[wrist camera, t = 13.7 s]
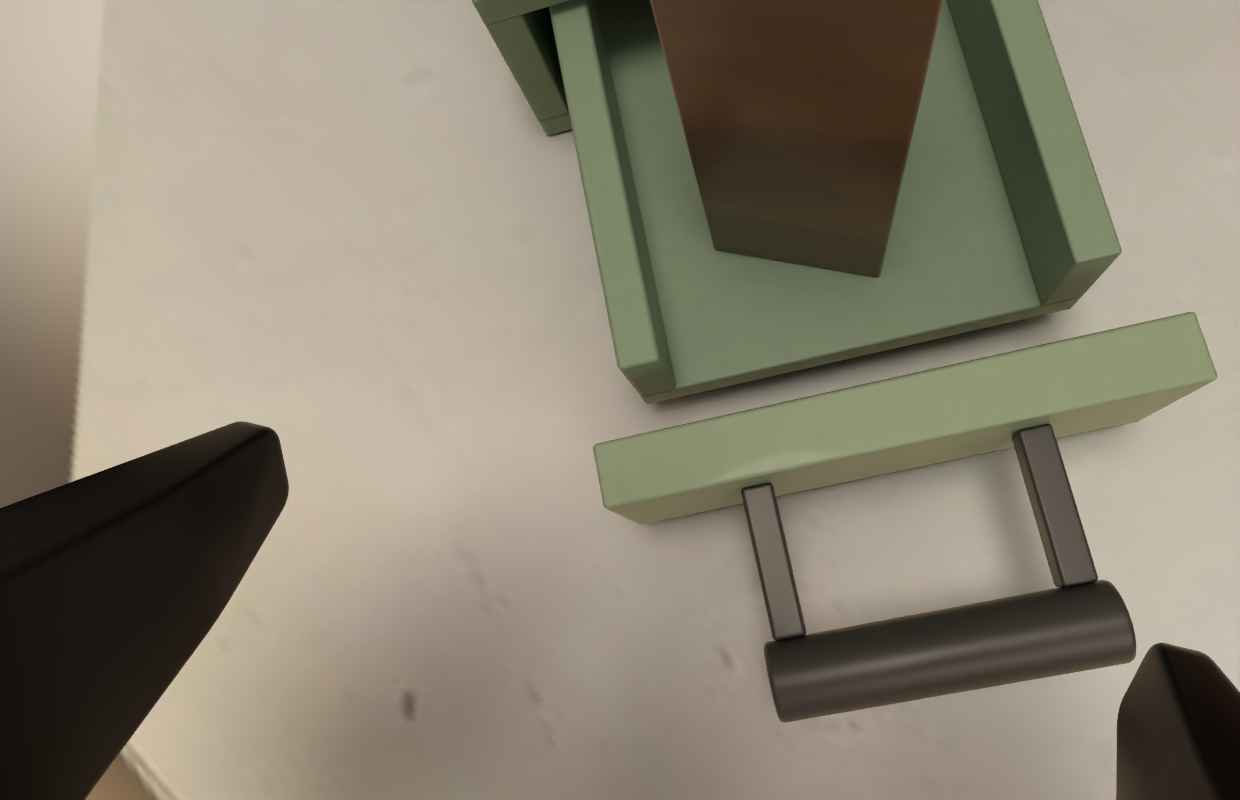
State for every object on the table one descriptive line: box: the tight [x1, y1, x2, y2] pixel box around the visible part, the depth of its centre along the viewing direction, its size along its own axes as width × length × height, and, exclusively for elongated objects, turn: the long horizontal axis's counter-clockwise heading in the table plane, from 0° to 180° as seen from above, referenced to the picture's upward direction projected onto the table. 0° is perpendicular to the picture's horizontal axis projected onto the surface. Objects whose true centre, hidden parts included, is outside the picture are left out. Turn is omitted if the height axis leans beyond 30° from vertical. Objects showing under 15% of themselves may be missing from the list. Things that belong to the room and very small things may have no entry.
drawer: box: [549, 0, 1217, 722], centre depth 19 cm, size 22×10×4 cm, turn 11°
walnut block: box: [650, 0, 944, 277], centre depth 14 cm, size 4×4×12 cm
